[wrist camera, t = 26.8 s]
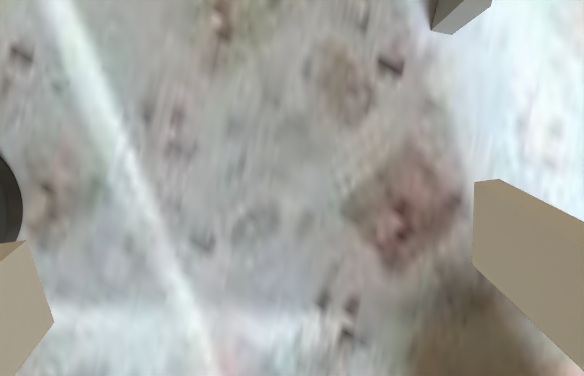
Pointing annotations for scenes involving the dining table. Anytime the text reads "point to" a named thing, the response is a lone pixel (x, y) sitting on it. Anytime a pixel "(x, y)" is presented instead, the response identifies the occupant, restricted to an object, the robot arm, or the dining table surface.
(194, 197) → the dining table surface
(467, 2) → the wall
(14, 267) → the robot arm
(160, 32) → the dining table surface
